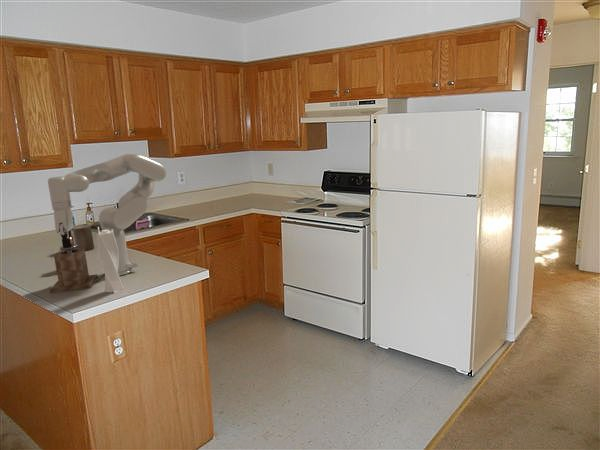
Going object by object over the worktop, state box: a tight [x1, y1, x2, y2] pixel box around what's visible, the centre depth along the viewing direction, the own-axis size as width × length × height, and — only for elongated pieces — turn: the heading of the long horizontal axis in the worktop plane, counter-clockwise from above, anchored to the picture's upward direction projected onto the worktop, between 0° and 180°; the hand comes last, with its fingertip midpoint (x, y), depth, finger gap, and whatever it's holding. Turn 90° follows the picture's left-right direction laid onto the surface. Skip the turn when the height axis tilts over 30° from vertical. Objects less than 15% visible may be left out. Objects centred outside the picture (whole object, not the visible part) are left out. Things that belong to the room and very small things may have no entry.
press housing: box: [49, 248, 99, 293], centre depth 204 cm, size 16×15×16 cm
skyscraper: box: [97, 226, 125, 294], centre depth 193 cm, size 8×8×28 cm
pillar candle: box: [72, 224, 95, 252], centre depth 267 cm, size 10×10×15 cm
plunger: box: [59, 237, 78, 253], centre depth 203 cm, size 7×7×18 cm
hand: (68, 245), depth 202 cm, fingers closed on plunger, 3 cm apart
